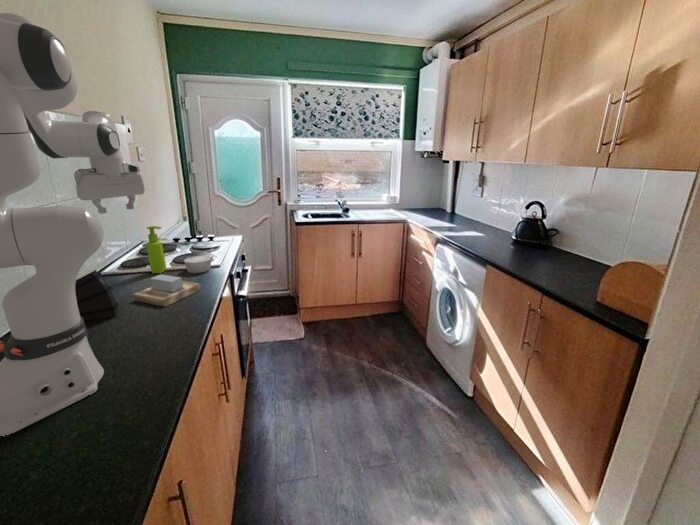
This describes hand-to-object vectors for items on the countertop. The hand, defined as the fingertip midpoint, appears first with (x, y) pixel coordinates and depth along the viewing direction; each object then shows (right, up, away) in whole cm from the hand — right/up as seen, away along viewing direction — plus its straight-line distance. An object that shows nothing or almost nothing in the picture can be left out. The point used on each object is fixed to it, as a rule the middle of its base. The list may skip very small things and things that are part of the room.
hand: (117, 211), depth 112 cm
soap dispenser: (-6, -21, +36) cm, 42 cm away
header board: (+11, -29, +11) cm, 33 cm away
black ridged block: (-3, -35, -6) cm, 35 cm away
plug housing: (+11, -26, +10) cm, 31 cm away
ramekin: (+10, -21, +38) cm, 45 cm away
